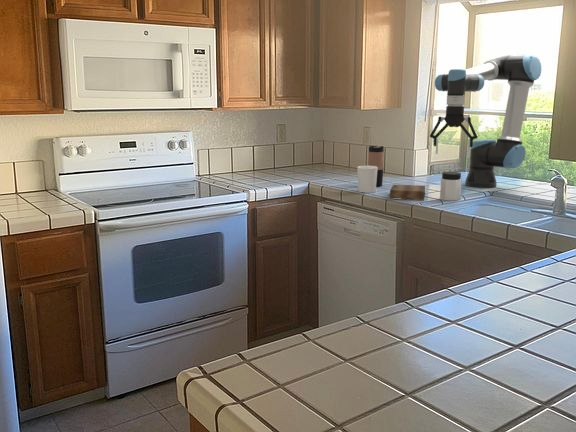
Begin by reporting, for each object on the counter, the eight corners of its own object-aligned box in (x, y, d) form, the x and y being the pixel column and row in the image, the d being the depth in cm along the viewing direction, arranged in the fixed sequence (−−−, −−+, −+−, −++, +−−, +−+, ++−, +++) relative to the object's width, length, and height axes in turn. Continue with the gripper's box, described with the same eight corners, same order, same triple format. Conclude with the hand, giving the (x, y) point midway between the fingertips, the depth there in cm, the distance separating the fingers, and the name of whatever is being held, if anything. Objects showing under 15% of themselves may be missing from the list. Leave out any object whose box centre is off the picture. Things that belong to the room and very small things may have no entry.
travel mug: (371, 187, 299) (372, 147, 294) (365, 184, 306) (366, 146, 302) (385, 186, 301) (386, 147, 296) (379, 184, 308) (380, 145, 304)
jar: (452, 201, 263) (454, 174, 260) (436, 199, 269) (438, 173, 266) (463, 198, 269) (465, 172, 266) (447, 196, 275) (448, 170, 272)
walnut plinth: (424, 194, 281) (425, 185, 280) (423, 200, 266) (423, 191, 266) (392, 192, 284) (393, 184, 283) (389, 198, 270) (390, 190, 269)
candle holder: (375, 189, 293) (375, 165, 290) (378, 193, 283) (379, 168, 281) (355, 189, 293) (355, 165, 290) (358, 193, 283) (358, 168, 280)
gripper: (425, 105, 259) (423, 154, 264) (485, 106, 253) (482, 155, 257) (426, 105, 266) (423, 152, 271) (484, 105, 260) (481, 153, 264)
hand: (452, 154), depth 264 cm, fingers open, 13 cm apart
